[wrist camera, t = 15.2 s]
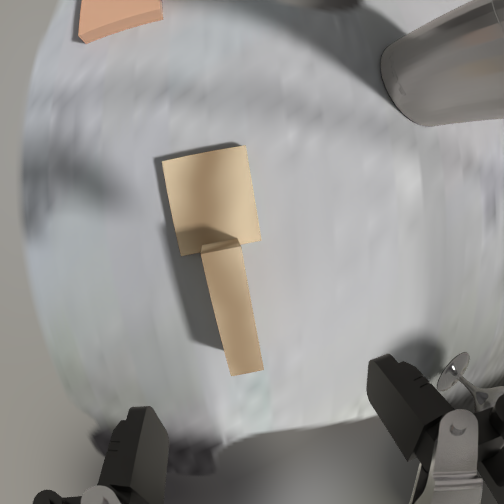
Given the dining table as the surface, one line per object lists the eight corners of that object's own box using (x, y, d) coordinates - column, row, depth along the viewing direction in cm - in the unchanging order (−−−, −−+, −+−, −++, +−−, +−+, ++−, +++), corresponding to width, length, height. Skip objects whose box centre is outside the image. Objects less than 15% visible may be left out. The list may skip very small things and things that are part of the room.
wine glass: (428, 399, 31) (482, 460, 17) (446, 357, 29) (514, 417, 15) (460, 384, 32) (512, 434, 18) (477, 344, 30) (539, 392, 16)
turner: (244, 147, 20) (250, 140, 16) (275, 341, 24) (285, 364, 21) (164, 162, 19) (154, 158, 16) (209, 354, 24) (209, 379, 20)
